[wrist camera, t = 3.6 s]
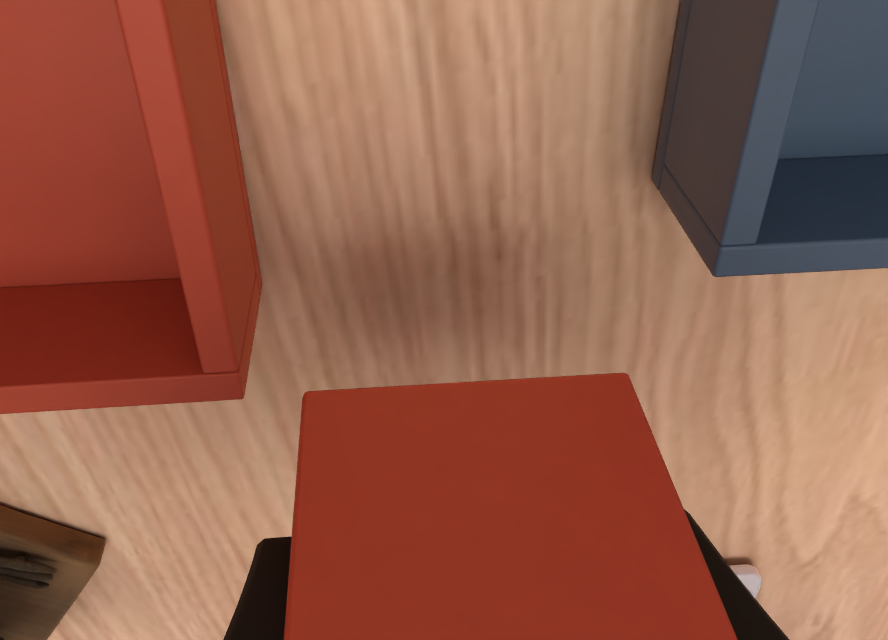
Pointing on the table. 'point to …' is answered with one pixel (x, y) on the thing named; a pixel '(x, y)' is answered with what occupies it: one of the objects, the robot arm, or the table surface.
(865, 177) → the blue bin
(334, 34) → the table surface
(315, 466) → the red block
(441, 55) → the table surface
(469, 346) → the table surface
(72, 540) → the figurine
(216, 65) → the red bin
